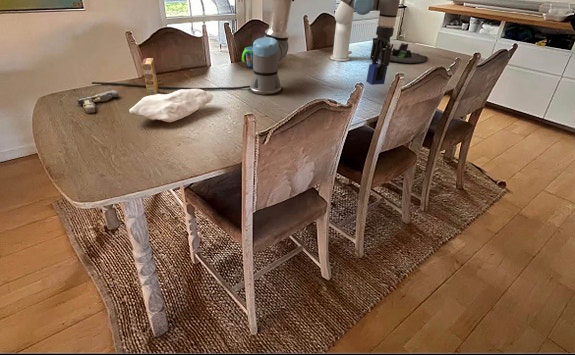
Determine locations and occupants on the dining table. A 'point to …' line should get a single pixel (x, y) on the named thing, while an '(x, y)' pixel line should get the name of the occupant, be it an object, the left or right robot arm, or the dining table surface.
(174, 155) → the dining table surface
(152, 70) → the candy box
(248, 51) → the snack cup
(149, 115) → the crumpled cloth
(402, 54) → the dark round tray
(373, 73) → the block
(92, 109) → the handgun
